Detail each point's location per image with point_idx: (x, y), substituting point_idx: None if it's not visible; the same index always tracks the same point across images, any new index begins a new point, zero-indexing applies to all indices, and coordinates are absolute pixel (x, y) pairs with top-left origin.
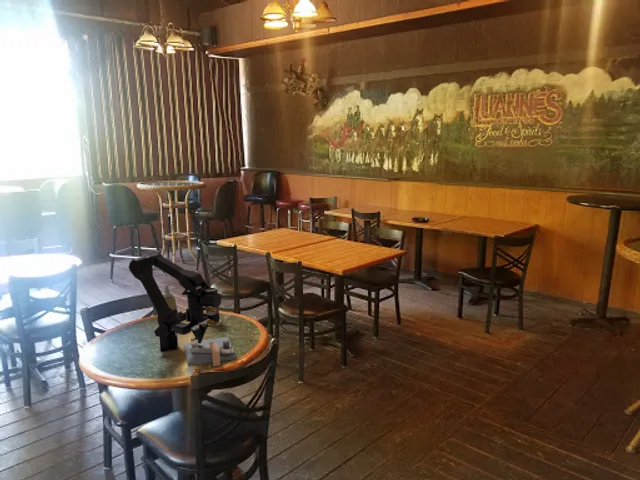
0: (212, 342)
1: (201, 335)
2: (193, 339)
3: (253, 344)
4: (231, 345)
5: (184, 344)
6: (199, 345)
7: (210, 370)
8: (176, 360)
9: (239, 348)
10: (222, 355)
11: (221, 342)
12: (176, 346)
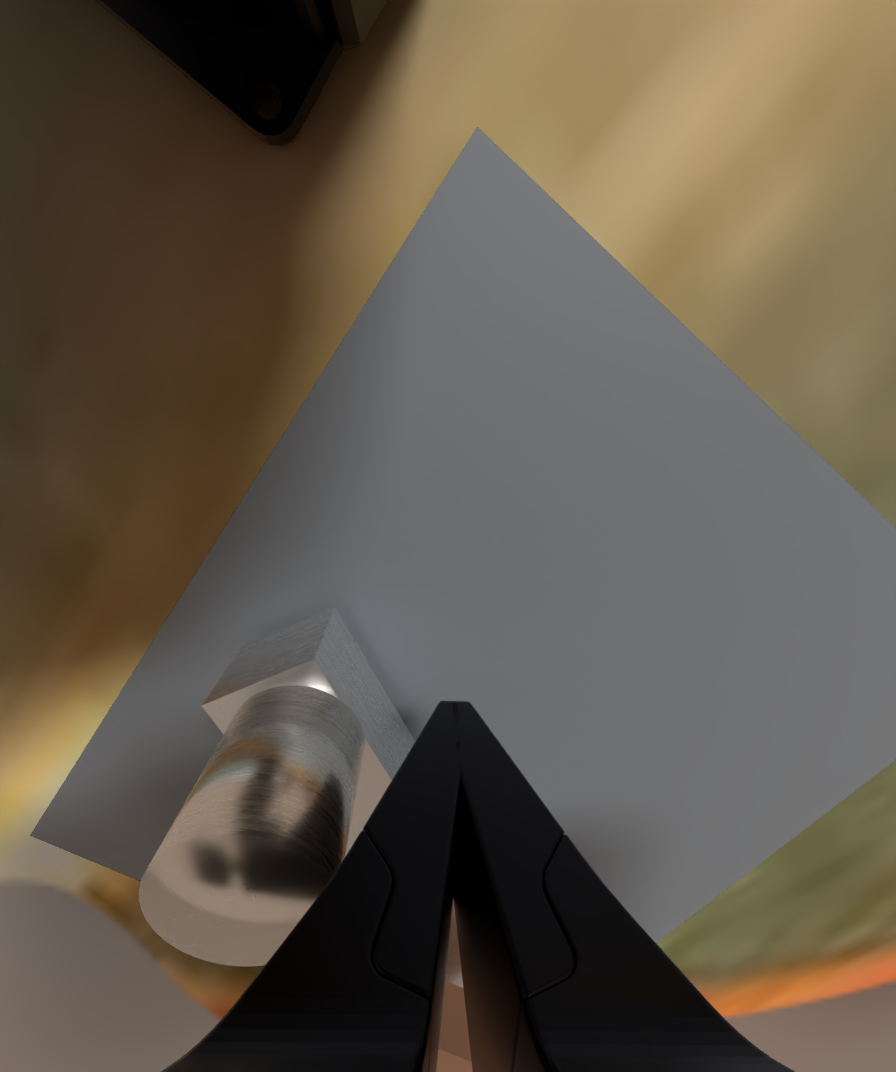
0: (461, 1061)
1: (466, 988)
2: (211, 904)
3: (889, 931)
4: (741, 877)
5: (444, 207)
6: (379, 776)
7: (190, 993)
8: (29, 552)
9: (746, 895)
10: None
11: (792, 726)
12: (318, 52)
